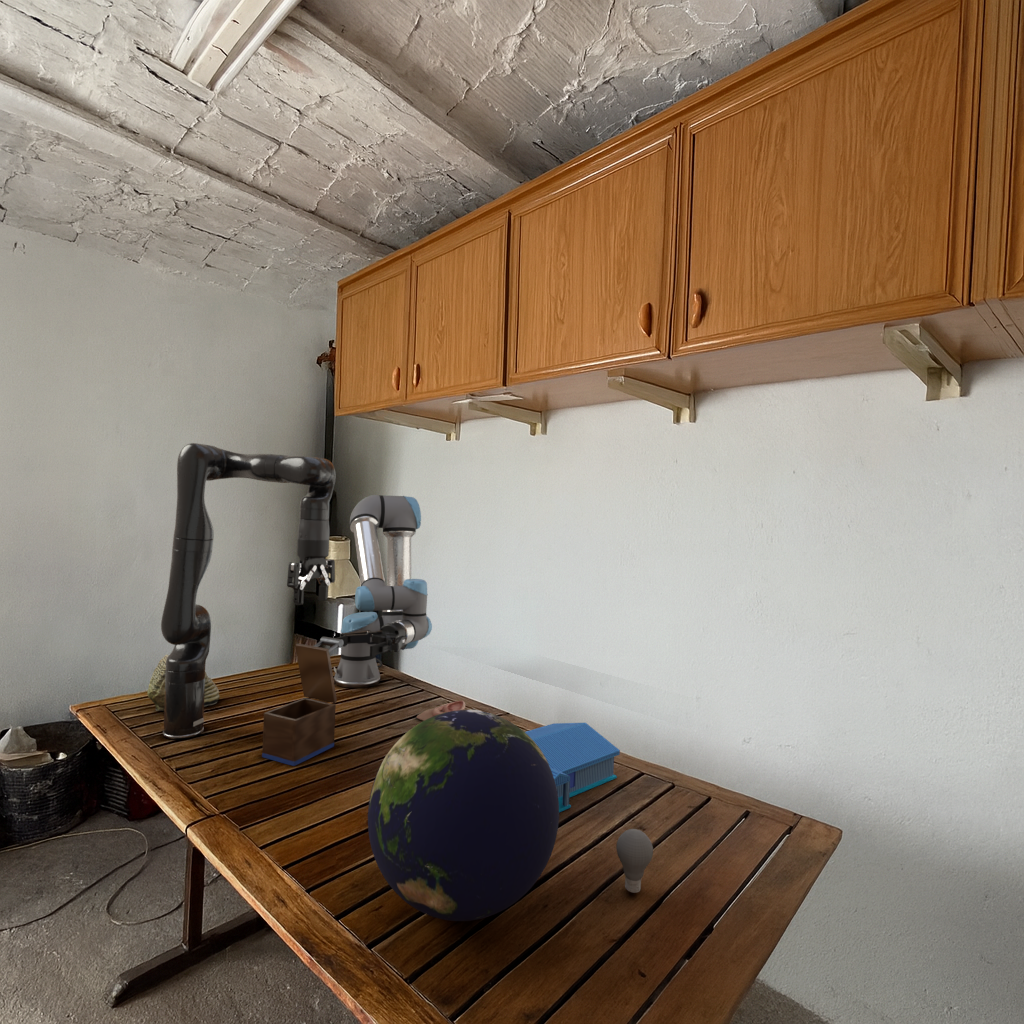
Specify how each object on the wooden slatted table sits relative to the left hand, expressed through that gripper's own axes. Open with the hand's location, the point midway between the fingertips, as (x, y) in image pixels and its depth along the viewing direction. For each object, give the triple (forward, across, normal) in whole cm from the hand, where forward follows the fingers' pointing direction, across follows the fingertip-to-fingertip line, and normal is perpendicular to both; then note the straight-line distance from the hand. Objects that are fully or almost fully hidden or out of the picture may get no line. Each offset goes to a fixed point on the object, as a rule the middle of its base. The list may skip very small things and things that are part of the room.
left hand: (311, 602), depth 158 cm
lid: (+19, +2, 0) cm, 19 cm away
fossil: (+37, +6, +51) cm, 63 cm away
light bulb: (+37, -18, -87) cm, 96 cm away
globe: (+37, -34, -64) cm, 81 cm away
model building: (+37, +9, -58) cm, 69 cm away
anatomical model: (+37, +37, -17) cm, 55 cm away
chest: (+37, -2, 0) cm, 37 cm away
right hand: (+14, +16, 0) cm, 22 cm away
